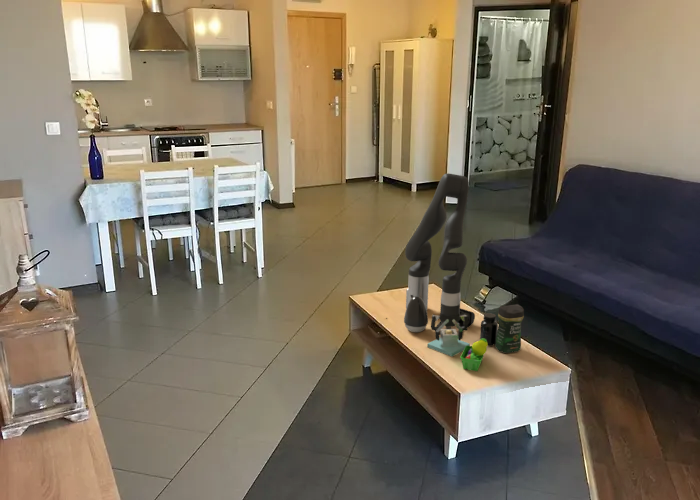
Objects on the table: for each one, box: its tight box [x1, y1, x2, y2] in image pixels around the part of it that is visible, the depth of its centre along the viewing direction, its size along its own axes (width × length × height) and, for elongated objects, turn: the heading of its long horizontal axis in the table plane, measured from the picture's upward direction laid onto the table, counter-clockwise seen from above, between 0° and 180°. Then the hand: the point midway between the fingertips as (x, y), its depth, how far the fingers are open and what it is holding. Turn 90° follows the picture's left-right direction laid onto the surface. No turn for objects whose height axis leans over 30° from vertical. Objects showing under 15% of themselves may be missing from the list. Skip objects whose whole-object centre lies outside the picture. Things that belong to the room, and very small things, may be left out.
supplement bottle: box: [479, 312, 499, 347], centre depth 235 cm, size 7×7×12 cm
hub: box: [426, 330, 471, 357], centre depth 232 cm, size 12×12×7 cm
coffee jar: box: [494, 303, 525, 354], centre depth 228 cm, size 10×8×19 cm
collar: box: [439, 329, 458, 347], centre depth 232 cm, size 6×6×5 cm
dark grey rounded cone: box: [403, 295, 429, 333], centre depth 247 cm, size 10×10×15 cm
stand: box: [439, 326, 459, 336], centre depth 245 cm, size 8×8×7 cm
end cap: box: [458, 307, 476, 328], centre depth 254 cm, size 10×7×7 cm
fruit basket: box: [460, 338, 488, 372], centre depth 216 cm, size 11×9×11 cm
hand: (448, 339), depth 232 cm, fingers open, 8 cm apart
